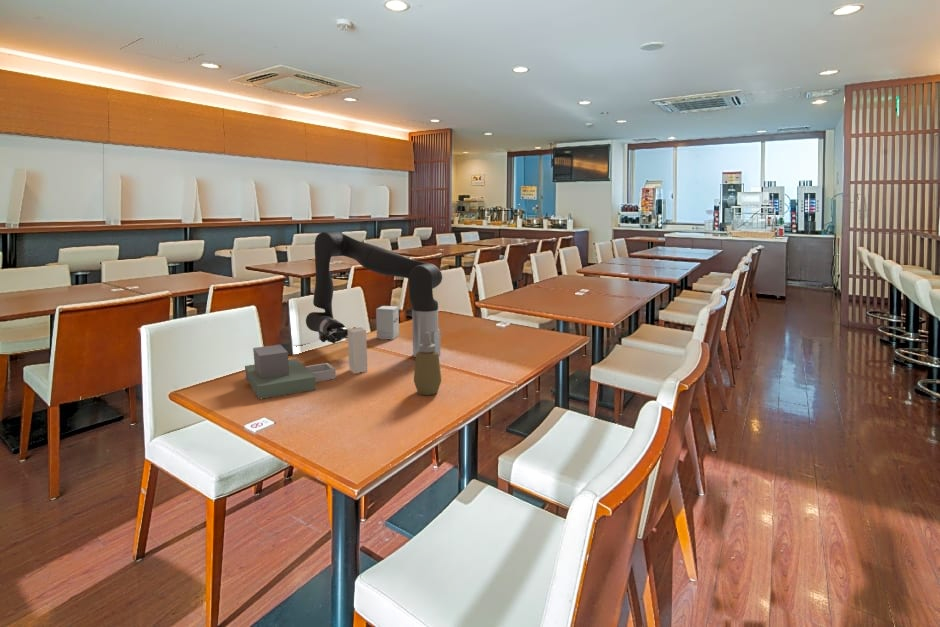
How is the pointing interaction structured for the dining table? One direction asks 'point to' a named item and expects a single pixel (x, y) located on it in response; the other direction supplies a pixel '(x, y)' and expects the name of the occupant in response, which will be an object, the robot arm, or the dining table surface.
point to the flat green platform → (283, 373)
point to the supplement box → (387, 322)
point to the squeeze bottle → (427, 368)
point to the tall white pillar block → (357, 350)
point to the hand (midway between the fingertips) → (346, 338)
